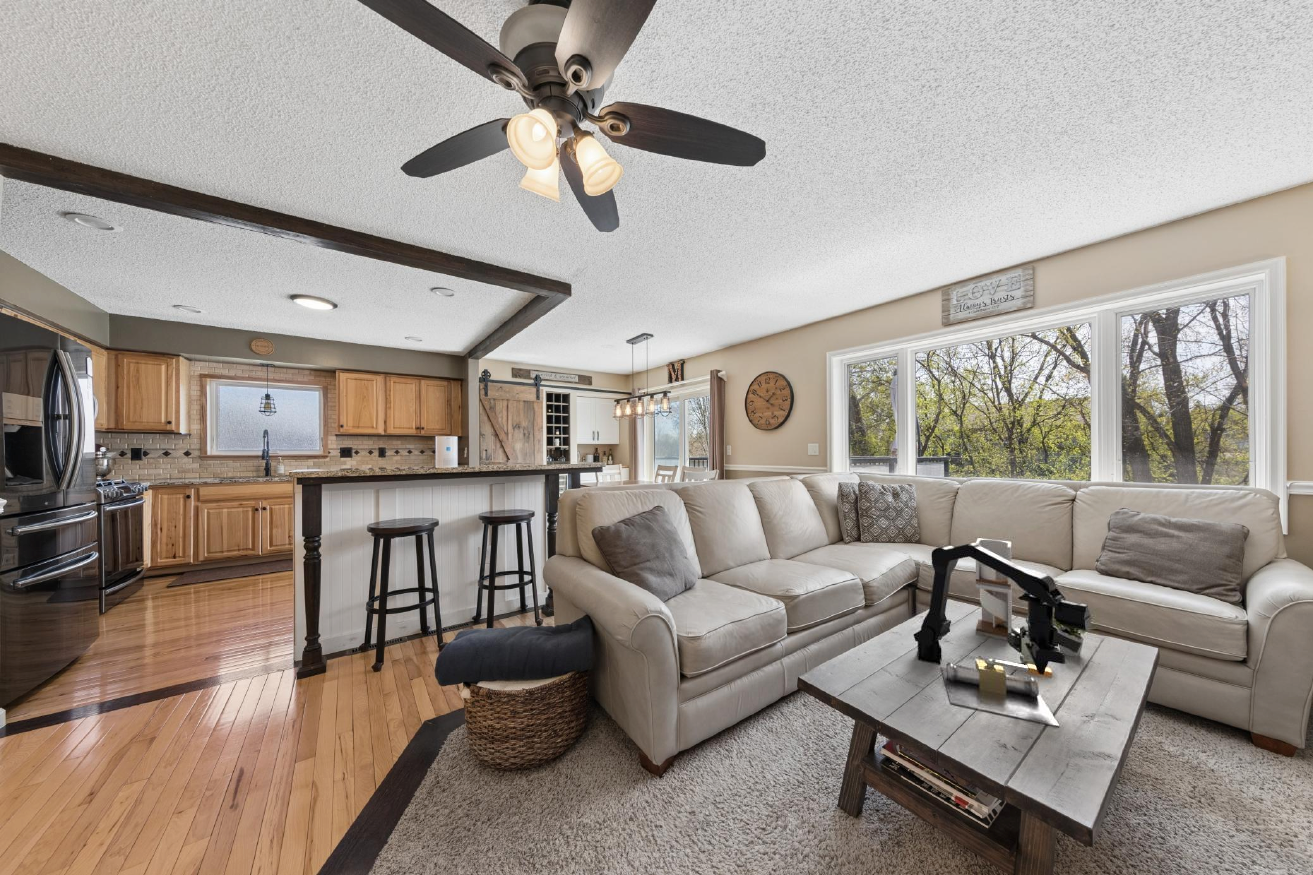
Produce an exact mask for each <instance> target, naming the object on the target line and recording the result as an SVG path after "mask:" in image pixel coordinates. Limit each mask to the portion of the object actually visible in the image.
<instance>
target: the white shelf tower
mask: <svg viewBox="0 0 1313 875" xmlns="http://www.w3.org/2000/svg"><path fill="white" fill-rule="evenodd" d="M975 543H976V544H978V545H979V546H981V547H983V548H985V549H987V550H989V551H991V552H993V553H994V554H996V555H998V556H1000V557H1002V558H1004V559H1006V560H1008V561H1010V562H1012V541H1007V540H999V539H998V540H997V539H989V538H981V537H979V538H977V539H976V541H975ZM1012 581H1013V580H1012V579H1010V578H1009V577H1007V576H1005V575H1003V574H1001V573H999V572H998V571H996V570H994V569H992V568H990V567H988V566H986V565H984V564H983V563H981V562H979V561H977V560H975V588H976V589H979V602H980V604H981V619H980V618H978V619H977V623H976V628H975V633H976V635H980V636H986V637H989V638H995V639H999V640H1003V641H1007V634H1008V633H1011V628H1013V626H1012V625H1013V619H1012V618H1013V613H1012V612H1013V611H1012V610H1013V608H1012V606H1013V604H1012V601H1013V600H1012V590H1013V588H1012Z"/></svg>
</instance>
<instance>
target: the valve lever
mask: <svg viewBox="0 0 1313 875" xmlns="http://www.w3.org/2000/svg"><path fill="white" fill-rule="evenodd" d="M983 661H984V662H985V663H986V664H989V665H998V666H1002V667H1003V668H1009V669H1013V670H1019V671H1023V672H1028V674H1029V675H1033V676H1038V677H1042V678H1047V679H1052V677H1053V676H1052V675H1053V674H1052V670H1051V669H1050V668H1049V667H1046V670H1045V672H1044V674H1043V675H1042V674H1039V673H1038V671H1037V669H1036V667H1035V665H1031V664H1027V666H1026V665H1024V664H1020V663H1017V662H1015V663H1014V662H1010V661H1004V660H1001V659H1000V660H999V659H995V658H993V657H990V656H985V657H984V660H983Z"/></svg>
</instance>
